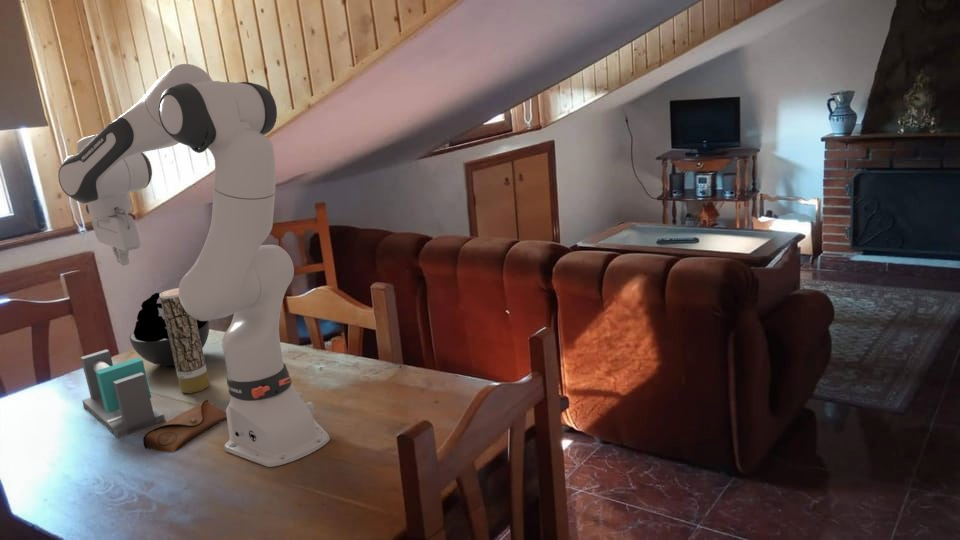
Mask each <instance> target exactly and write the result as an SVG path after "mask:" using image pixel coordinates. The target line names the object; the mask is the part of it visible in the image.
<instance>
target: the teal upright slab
mask: <svg viewBox="0 0 960 540" xmlns="http://www.w3.org/2000/svg"><path fill="white" fill-rule="evenodd" d="M140 372H142V373H143V374H144V375H145V379H146V383H147V387H148V392H149V396H150V399H152V394H151V390H150V385H149V381H148V377H147V374H146V369H145V365H144V361H143V359H141V357H135V358H132V359H129V360H126V361H125V360H124V361H122V362H120V363H119V362H118V363H117V364H113V366H109V367H106V368H103V369H100V370H97V371H95V373H96V377H97V380H98V384H99V388H100V392H101V396H102V400H103V404H104V408H105V410H106V411H107V412H109V413H110V412H113V411H116V410H119V409H120V408H119V404H118V400H117V396H116V392H115V388H114V384H113V381H116V380H119V379H122V378H125V377H128V376H131V375H134V374H137V373H140Z"/></svg>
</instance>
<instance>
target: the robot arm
mask: <svg viewBox="0 0 960 540" xmlns="http://www.w3.org/2000/svg"><path fill="white" fill-rule="evenodd" d="M277 110H278V109H277V104H276V101H275V98H274V96H273V95H272V92H271V91H270V90H268V88H266V87H265V86H263V85H260V84H257V83H255V82H254V83H253V82H248V81H241V82H240V81H238V82H233V81H219V80H213V78H212V77H211V76H210V75H209V74H208V73H207V72H206V71H205V70H204V69H203V68H202V67H199V66H197V65H194V64H189V63H182V64H178V65H175V66H173V67H171V68H170V69H169V70H167V71H166V72H165V73H164V74H163V75H162V76H160V77H159V78H158V79H157V80H156V81H155V82H154V83H153V84H152V85H151V87H150V88H149V89H148V90H147V92H146V93H145V94H144V95H143V96H142V98H140V99H139V101H137V102H136V103H135V104H134V105H132V106H131V108H129V109H128V110H126V112H124V113H123V114H121V115H120V116H119V117H118V118H116V119H114V120H113V121H112V122H110V123H109V124H107V126H105V127H103V129H102V130H101V131H100V132H98V134H93V135H89V136H84V137H82V138H80V139H79V140H78V141H77V142H76V154H73V155H68V156H67V157H66V158H64V160H63V161H62V163H61V165H60V167H59V170H58V175H57V176H58V182H59V185H60V188H61V190H62V192H64V193H65V195H67V196H68V197H69V198H71V199H73V200H74V201H77V202H79V203H81V204H85V207H84V208H85V211H86V214H88V215H89V217H90V221H91V224H92V228H93V230H94V234H95V236H96V239H97V241H99V243H101V244H104V245H106V246H107V245H108V246H110V247H111V251H112V252H113V255H114V256H115V258H116V263H117V264H118V265H120V266H128V265H129V264H130V259H129V251H133V250H138V249H140V248H141V239H140V235H139V231H138V229H137V225H136V222H135V219H134V218H133V216H132V215H130V214H128V213H131V212H133V207H132V202H131V196H130V193H135V192H138V191H141V190H143V189H146V188H148V186H149V185H150V182H152V181H151V180H152V176H153V168H152V164H151V161H150V159H149V158H148V156H147V155H146V154H145V153H146V152H150V151H156V150H160V149H161V150H162V149H164V148H165V149H166V148H170V147H173V146H176V145H177V144H178V145H179V144H182V145H185V146H188V147H189V148H190V149H191V150H192V151H193V152H195V153H197V154H200V153H203V152H205V151H207V149H208V150H209V151H210V152H211V154H212V157H213V160H214V166H215V167H214V176H213V193H212V197H213V198H212V210H211V219H210V225H209V226H210V227H209V230H208V233H207V235H206V236H207V237H206V239H205V242H204V245H203V247H202V249H201V250H200V253H199V255H198V257H197V259H196V261H195V262H194V263H193V265H192V266H191V267H190V269H189V270H188V271H187V272H186V273H185V274H184V276H183V277H182V278H181V280H180V281H179V283H178V284H179V285H178V288H179V299H180V302H181V305H182V306H183V308H184V310H185V311H186V312H187V313H188V314H189V315H190V316H192V317H193V318H195V319H197V320H199V321H214V320H218V319H219V320H220V319H224V318H227V317H230V316H232V315H233V316H232V320H231V323H230V325H229V327H228V328H227V330H226V331H225V333H224V335H223V337H222V342H221V343H222V344H221V345H222V351H223V356H224V361H225V366H226V371H227V376H226V381H227V382H226V386H227V389H228V392H229V395H230V400H229V403H228V405H227V407H226V409H225V413H226V415H227V419H226V420H227V421H226V422H227V428H228V436H229V440H228V441H226V443H225V444H224V451H225V452H227V453H230V454H233V455H235V456H238V457H241V458H244V459H246V460H249V461H251V462H254V463H256V464H259V465H262V466H264V467H267V468H268V467H269V468H272V467H278V466H282V465H286V464H287V463H288V464H289V463H292V462H294V461H297V460H299V459H301V458H304V457H306V456H308V455H310V454H312V453H314V452H317V450H319V449H321V448H322V447H323V446H325V445H326V444H327V443H328V442H329V441H330V440H331V438H330V435H329V434H328V432H327V431H326V430H325V429H324V428H323V427H322V426H321V425H320V424H319V423H318V422H317V421H316V420H315V419H314V416H313V413H315V407H314V406H315V405H314V404H313V402H312V401H309V402H305V400H303V394H302V392H298V391H297V390H296V388H295V387H294V386H293V383H292V379H291V375H290V371H289V370H288V367H287V366H286V364H285V363H284V359H283V353H282V346H281V340H280V316H281V311H282V305H283V302H284V301H283V300H284V298H285V295H286V293H287V292H286V291H287V290H288V287H290V284H291V282H292V281H293V279H294V273H295V268H294V262H293V260H292V258H291V256H290V255H289V253H288V252H287V251H286V250H285V249H284V248H283V247H281V246H279V245H278V244H277V245H276V244H263V243H264V242H265V240H267V238H268V236H270V234H271V232H272V230H273V223H274V211H275V210H274V209H275V202H276V201H275V199H276V198H275V197H276V186H277V185H276V183H277V180H276V179H277V171H276V169H277V168H276V158H275V157H276V156H275V152H274V151H275V150H274V145H273V143H272V142H271V140H270V139H269V138H268V136H266V135H267V134H268V133H270V132H271V131H273V129H274V127H275V126H276V122H277V119H278V111H277ZM144 152H145V153H144Z"/></svg>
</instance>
